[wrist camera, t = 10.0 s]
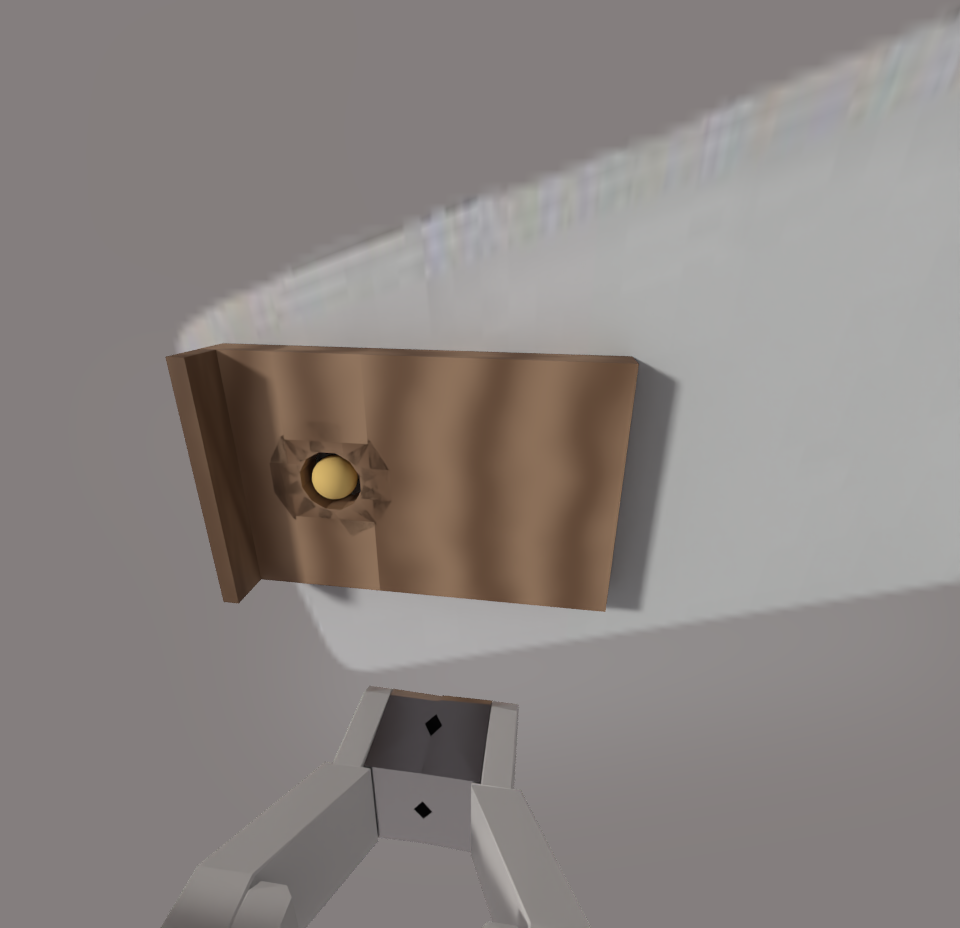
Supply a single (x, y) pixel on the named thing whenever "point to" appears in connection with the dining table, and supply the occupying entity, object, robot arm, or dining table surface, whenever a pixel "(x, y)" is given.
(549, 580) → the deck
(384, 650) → the dining table surface
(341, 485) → the ball
